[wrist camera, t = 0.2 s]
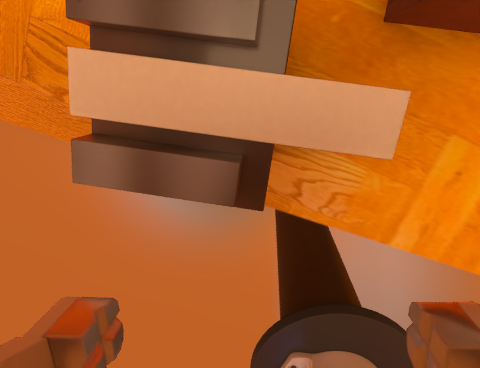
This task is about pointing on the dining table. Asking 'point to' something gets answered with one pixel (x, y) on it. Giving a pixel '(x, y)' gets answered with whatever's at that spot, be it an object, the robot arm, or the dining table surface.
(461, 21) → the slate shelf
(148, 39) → the walnut shelf
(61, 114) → the dining table surface
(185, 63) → the cream rectangular block
